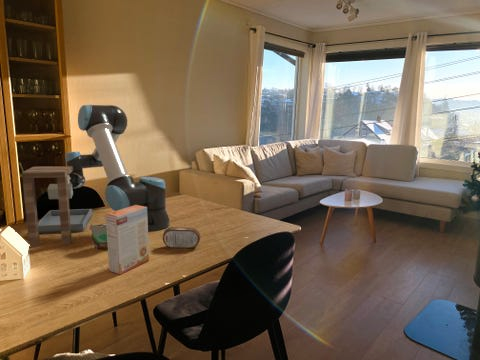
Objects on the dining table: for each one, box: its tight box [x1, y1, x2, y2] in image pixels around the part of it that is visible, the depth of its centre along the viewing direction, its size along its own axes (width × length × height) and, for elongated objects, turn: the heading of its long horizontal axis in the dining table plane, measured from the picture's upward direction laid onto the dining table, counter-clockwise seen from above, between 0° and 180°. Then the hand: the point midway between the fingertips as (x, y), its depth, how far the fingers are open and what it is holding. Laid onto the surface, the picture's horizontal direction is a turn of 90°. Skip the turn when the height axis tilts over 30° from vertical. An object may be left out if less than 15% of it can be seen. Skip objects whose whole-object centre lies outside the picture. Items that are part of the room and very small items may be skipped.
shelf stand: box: [21, 165, 73, 248], centre depth 146 cm, size 14×15×30 cm
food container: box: [89, 222, 108, 251], centre depth 142 cm, size 12×6×10 cm, turn 117°
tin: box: [162, 226, 201, 249], centre depth 145 cm, size 15×3×8 cm, turn 92°
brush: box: [47, 175, 74, 200], centre depth 163 cm, size 16×9×5 cm, turn 15°
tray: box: [38, 208, 93, 234], centre depth 169 cm, size 24×20×4 cm
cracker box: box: [105, 205, 150, 276], centre depth 126 cm, size 14×6×21 cm, turn 150°
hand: (62, 180), depth 163 cm, fingers closed on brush, 3 cm apart
